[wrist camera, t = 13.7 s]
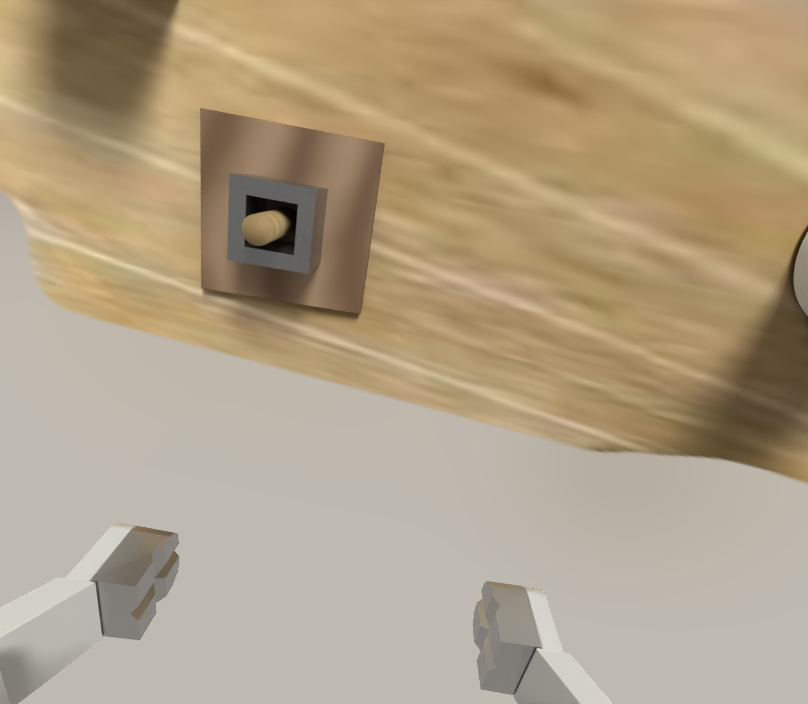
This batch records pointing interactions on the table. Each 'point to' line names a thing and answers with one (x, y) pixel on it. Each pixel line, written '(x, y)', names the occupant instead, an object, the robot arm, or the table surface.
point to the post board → (298, 167)
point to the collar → (252, 198)
